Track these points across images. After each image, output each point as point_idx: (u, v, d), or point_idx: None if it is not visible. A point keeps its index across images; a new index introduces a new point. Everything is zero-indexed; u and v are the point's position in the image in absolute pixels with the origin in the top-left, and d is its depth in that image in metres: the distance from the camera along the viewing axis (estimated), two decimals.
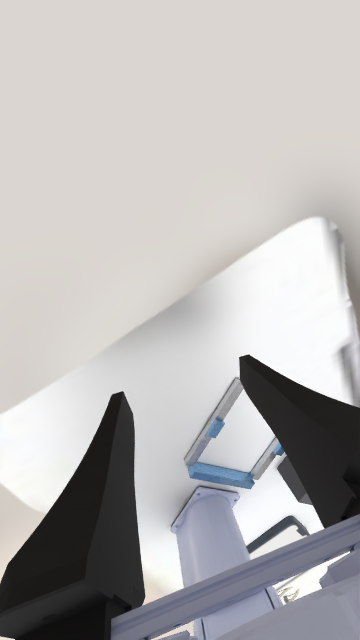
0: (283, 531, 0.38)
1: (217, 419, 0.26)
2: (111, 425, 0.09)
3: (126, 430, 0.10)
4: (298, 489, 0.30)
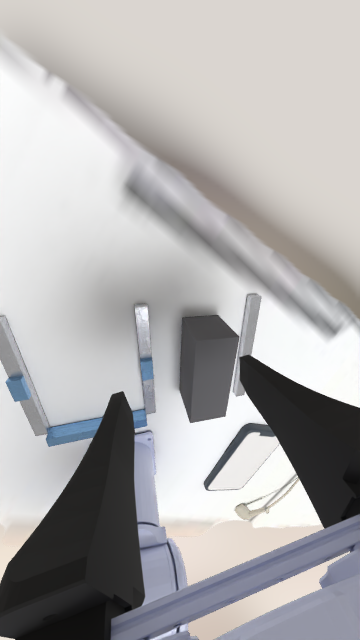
0: (242, 442, 0.32)
1: (10, 379, 0.19)
2: (111, 425, 0.09)
3: (126, 430, 0.10)
4: (188, 408, 0.22)
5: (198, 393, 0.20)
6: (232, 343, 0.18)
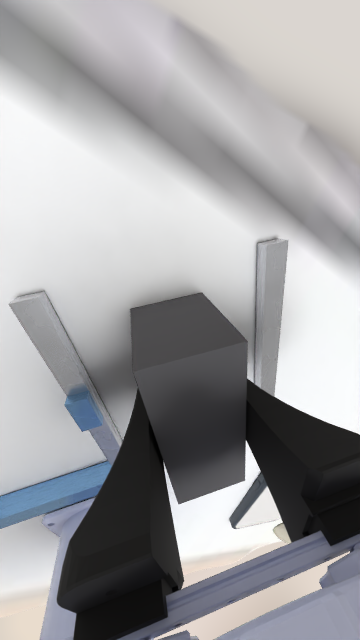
0: None
1: None
2: (144, 415, 0.09)
3: None
4: None
5: (178, 463, 0.10)
6: (232, 358, 0.07)
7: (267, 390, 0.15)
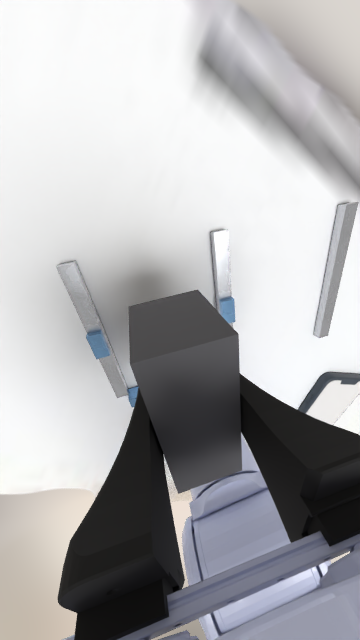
0: (322, 392, 0.29)
1: (89, 334, 0.17)
2: (144, 415, 0.09)
3: None
4: None
5: (177, 452, 0.10)
6: (224, 351, 0.08)
7: (328, 311, 0.23)
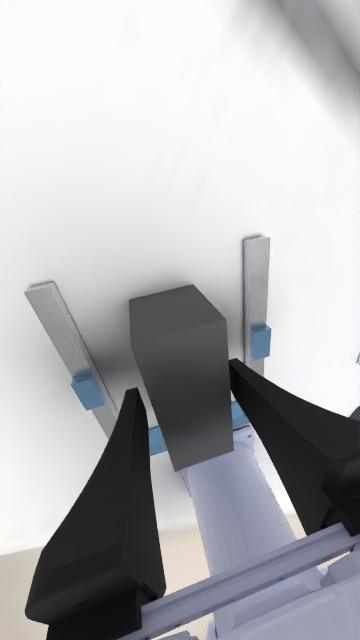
0: None
1: (76, 379, 0.13)
2: (129, 419, 0.09)
3: (142, 425, 0.10)
4: None
5: (173, 430, 0.11)
6: (214, 334, 0.09)
7: None
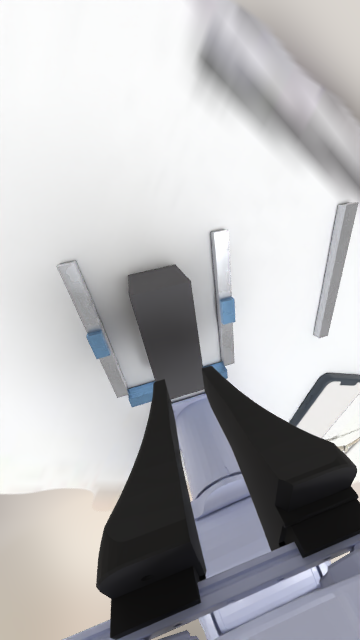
0: (321, 393, 0.29)
1: (90, 333, 0.17)
2: (163, 409, 0.09)
3: (172, 416, 0.11)
4: None
5: (159, 365, 0.16)
6: (183, 291, 0.14)
7: (328, 312, 0.23)
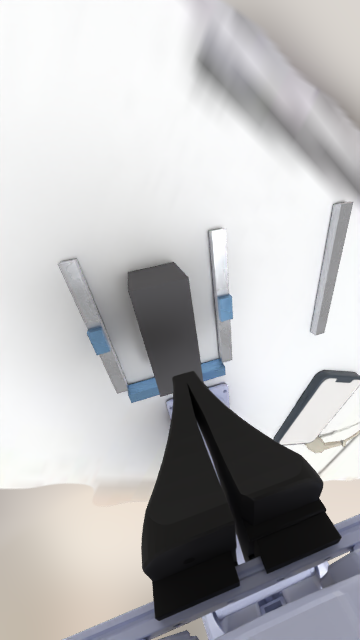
0: (317, 390, 0.30)
1: (90, 330, 0.18)
2: (186, 402, 0.10)
3: None
4: None
5: (157, 360, 0.16)
6: (181, 287, 0.14)
7: (324, 309, 0.23)
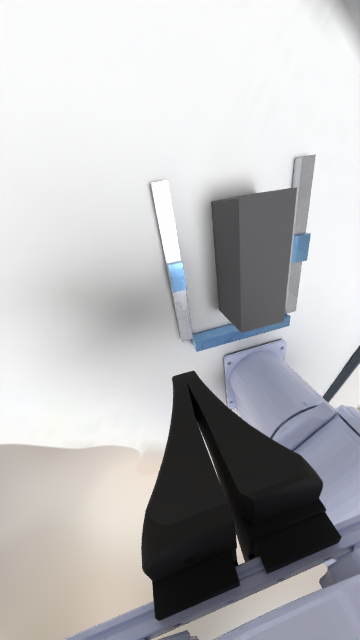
0: None
1: (170, 263, 0.17)
2: (186, 402, 0.10)
3: None
4: (235, 317, 0.18)
5: (248, 287, 0.16)
6: (288, 199, 0.13)
7: None
